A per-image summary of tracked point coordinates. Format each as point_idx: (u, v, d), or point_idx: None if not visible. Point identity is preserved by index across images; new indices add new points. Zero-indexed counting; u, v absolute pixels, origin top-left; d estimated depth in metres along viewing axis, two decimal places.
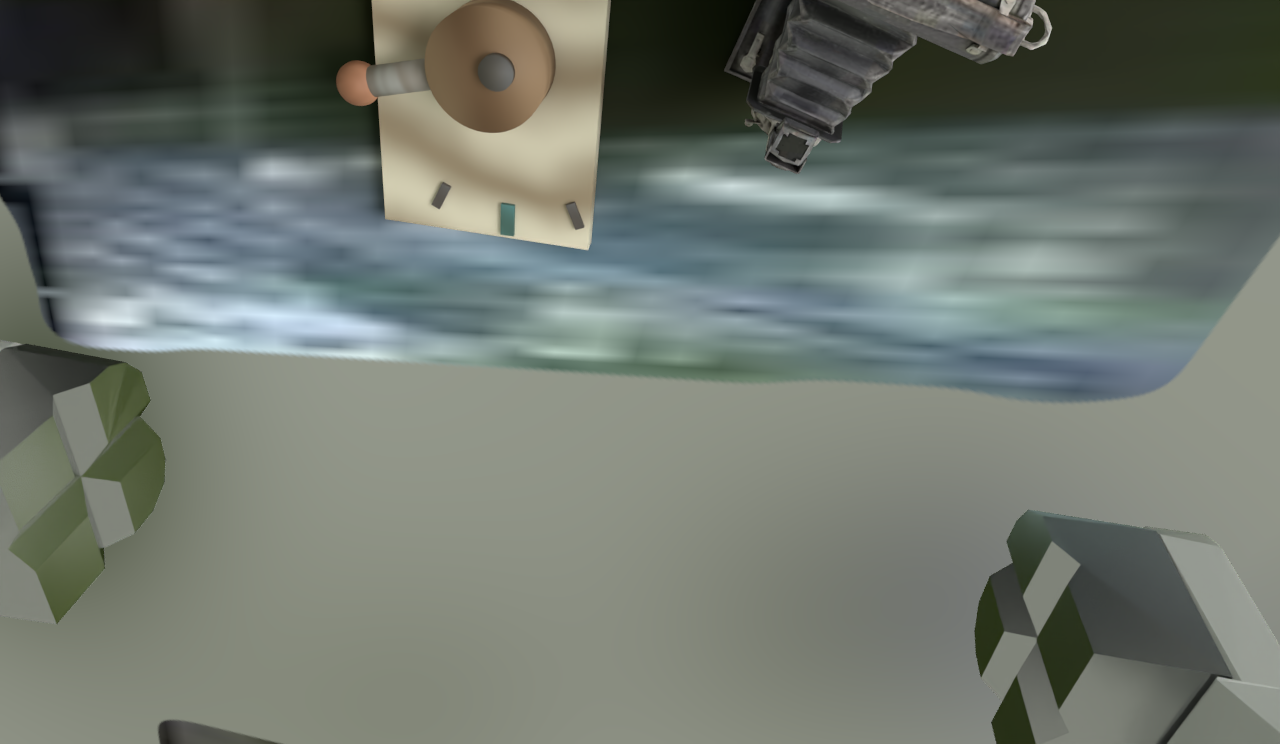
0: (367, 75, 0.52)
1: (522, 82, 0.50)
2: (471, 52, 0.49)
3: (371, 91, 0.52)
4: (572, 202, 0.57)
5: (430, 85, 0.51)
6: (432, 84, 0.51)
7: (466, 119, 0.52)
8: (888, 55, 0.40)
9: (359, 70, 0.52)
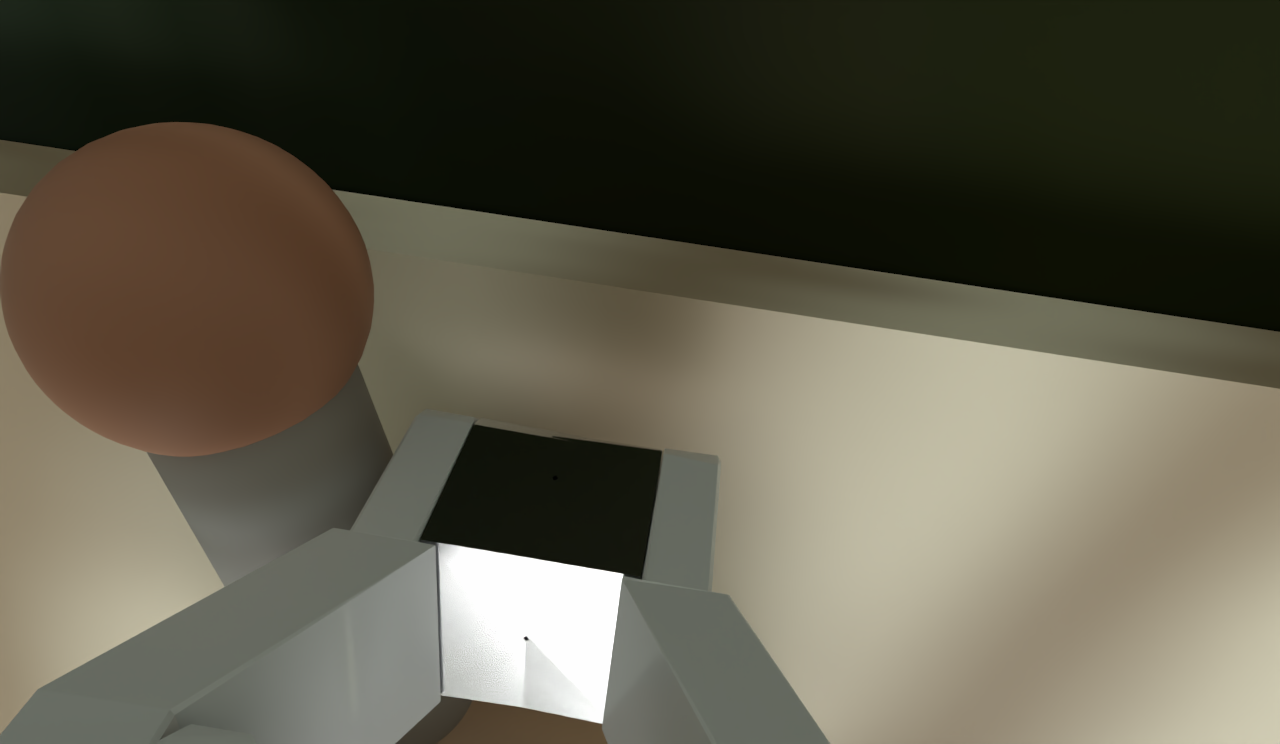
0: (267, 440, 0.07)
1: None
2: None
3: (158, 462, 0.07)
4: None
5: None
6: None
7: None
8: None
9: (291, 396, 0.07)
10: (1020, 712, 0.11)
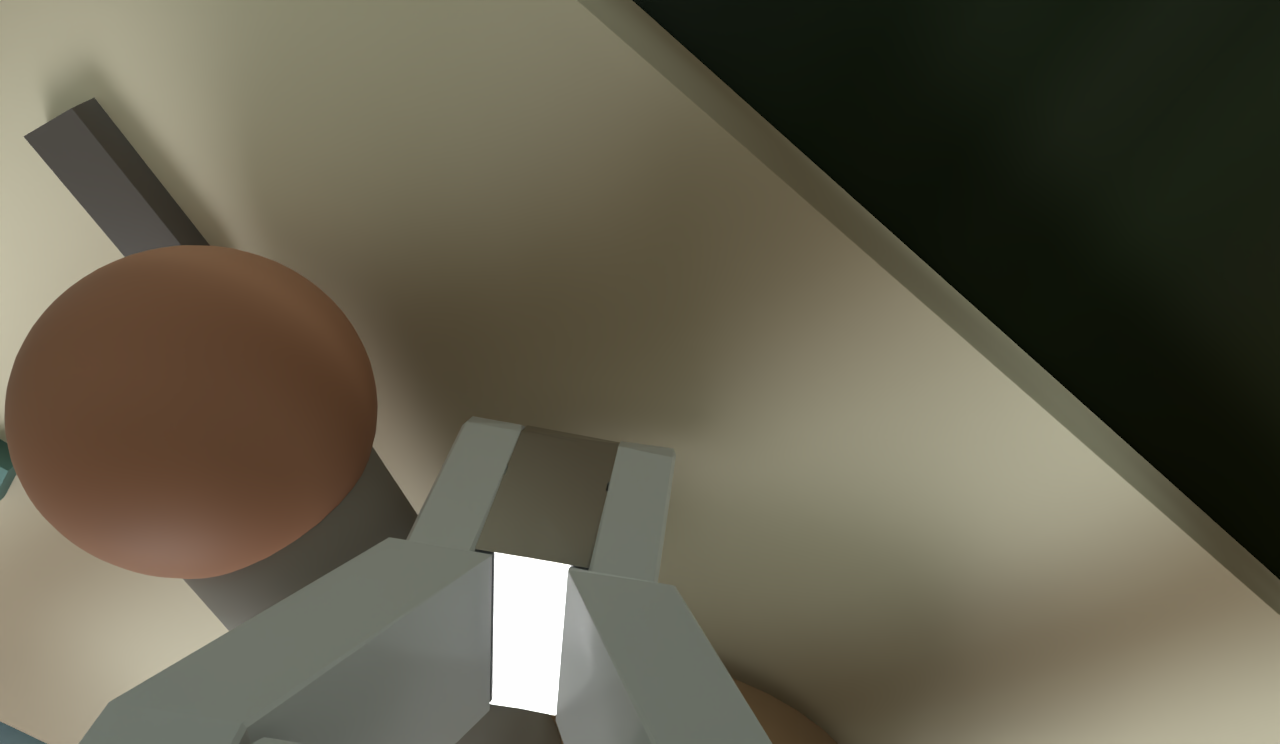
0: (289, 547, 0.07)
1: None
2: None
3: (191, 585, 0.07)
4: None
5: None
6: None
7: None
8: None
9: (301, 500, 0.06)
10: None
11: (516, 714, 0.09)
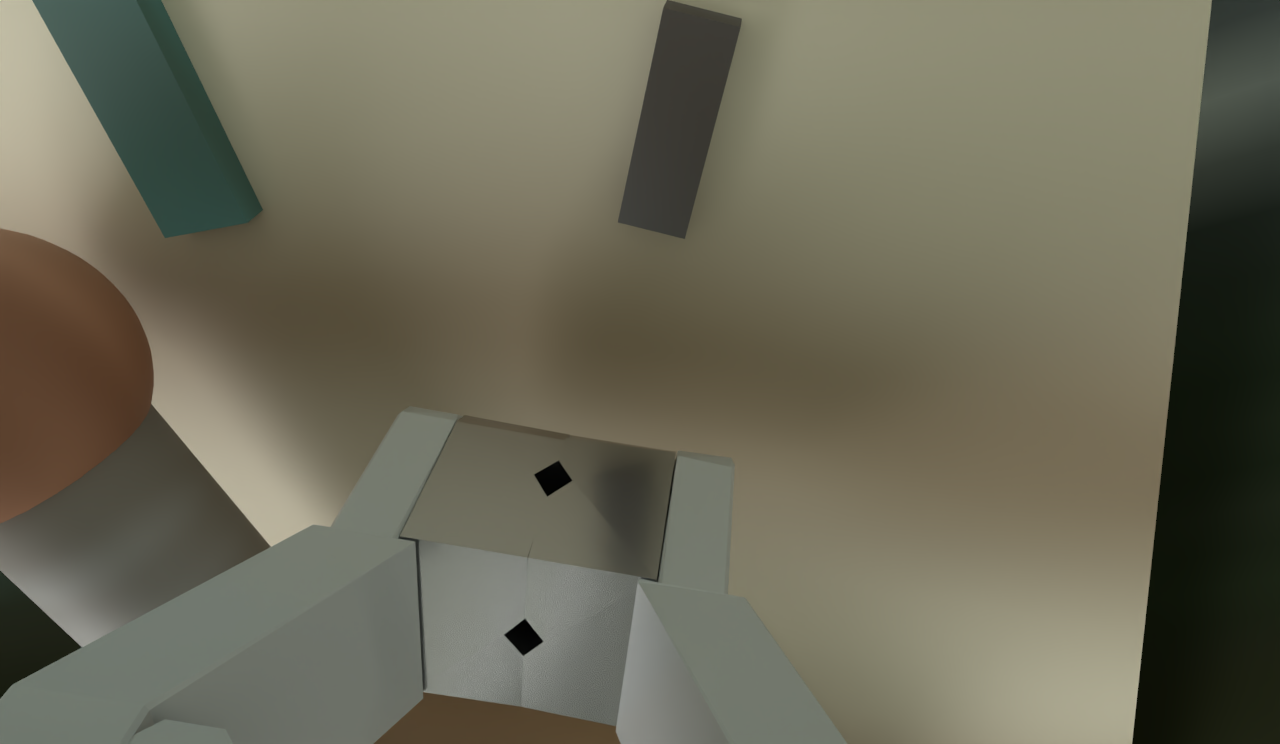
0: (49, 502, 0.07)
1: None
2: None
3: None
4: None
5: None
6: None
7: None
8: None
9: (49, 456, 0.07)
10: None
11: None
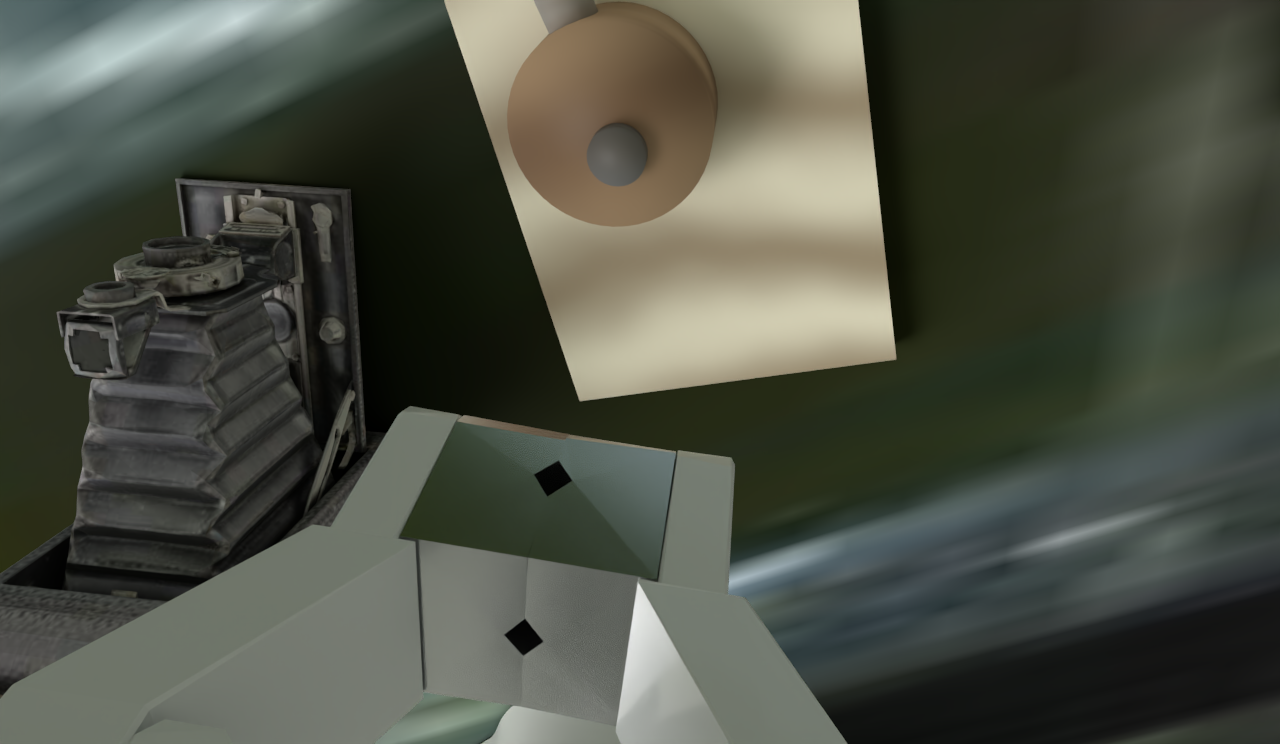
0: None
1: (612, 193, 0.31)
2: (635, 105, 0.29)
3: None
4: None
5: (556, 36, 0.28)
6: (558, 40, 0.28)
7: (519, 108, 0.29)
8: (90, 474, 0.31)
9: None
10: (749, 259, 0.35)
11: None
